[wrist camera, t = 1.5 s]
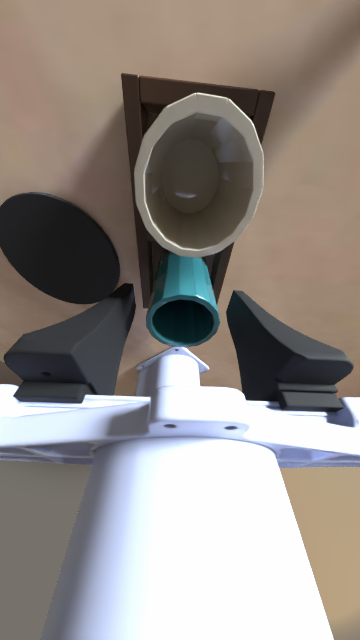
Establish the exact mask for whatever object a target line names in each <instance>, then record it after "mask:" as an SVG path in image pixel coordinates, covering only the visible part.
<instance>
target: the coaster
mask: <svg viewBox="0 0 360 640" xmlns="http://www.w3.org/2000/svg"><path fill="white" fill-rule="evenodd" d="M0 247H1V249H2V251H3V253H4V255H5V256H6V258H7V259H8V261H9V262H10V263H11V265H12V266H13V267H14V268H15V270H16V271H17V272H18V273H19V274H20V275H21V276H22V277H23V278H25V279H26V280H27V281H28V282H29V283H31V284H32V285H33V286H35V287H36V288H38V289H39V290H41V291H42V292H44V293H46V294H48V295H50V296H52V297H54V298H57V299H59V300H62V301H65V302H70V303H75V304H92V303H96V302H99V301H102V300H103V299H105V298H106V297H107V296H109V295H110V294H111V293H112V292H113V291H114V289H115V288H116V286H117V283H118V280H119V276H120V265H119V260H118V256H117V253H116V250H115V248H114V246H113V244H112V242H111V241H110V239H109V237H108V236H107V234H106V233H105V232H104V230H103V229H102V228H101V227H100V226H99V225H98V224H97V222H96V221H95V220H94V219H92V218H91V217H90V216H89V215H88V214H87V213H85V212H84V211H83V210H81V209H80V208H78V207H77V206H75V205H73V204H72V203H70V202H68V201H66V200H64V199H62V198H59V197H56V196H53V195H50V194H45V193H37V192H30V193H22V194H18V195H15V196H12V197H11V198H9V199H7V200H6V201H5V202H4V203H3V204H2V205H1V206H0Z"/></svg>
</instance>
